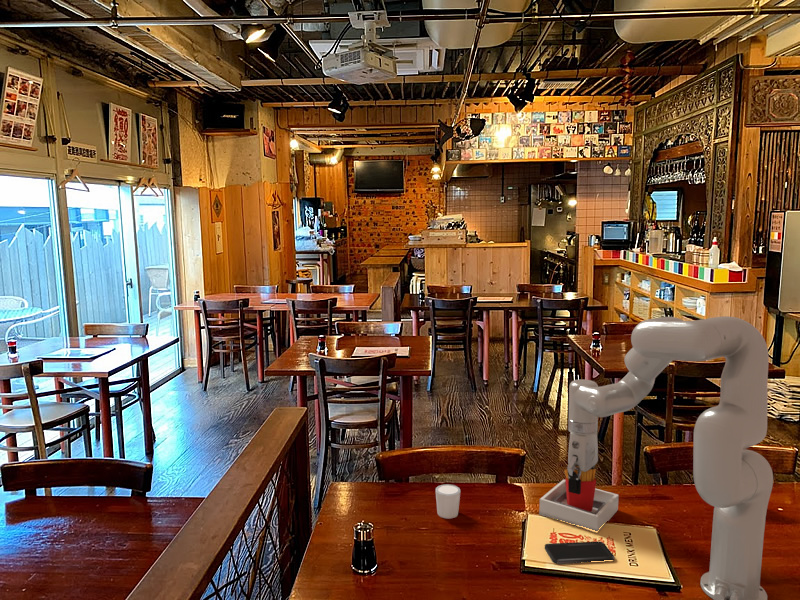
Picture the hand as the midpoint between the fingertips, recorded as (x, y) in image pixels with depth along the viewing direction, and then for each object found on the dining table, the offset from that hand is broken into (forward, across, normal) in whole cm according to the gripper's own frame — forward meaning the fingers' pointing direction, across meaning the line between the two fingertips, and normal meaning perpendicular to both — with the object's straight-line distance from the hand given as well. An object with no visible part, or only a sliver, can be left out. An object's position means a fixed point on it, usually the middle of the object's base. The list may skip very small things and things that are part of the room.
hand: (581, 486), depth 163 cm
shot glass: (+7, -23, +29) cm, 37 cm away
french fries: (+7, 0, 0) cm, 7 cm away
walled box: (+8, 0, +1) cm, 8 cm away
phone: (+9, -20, -7) cm, 23 cm away
